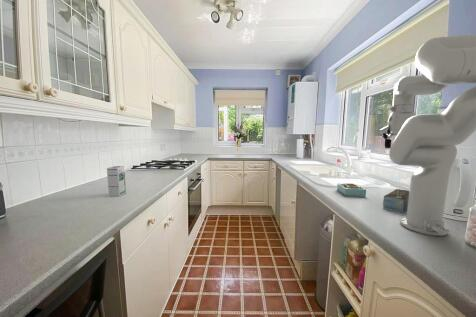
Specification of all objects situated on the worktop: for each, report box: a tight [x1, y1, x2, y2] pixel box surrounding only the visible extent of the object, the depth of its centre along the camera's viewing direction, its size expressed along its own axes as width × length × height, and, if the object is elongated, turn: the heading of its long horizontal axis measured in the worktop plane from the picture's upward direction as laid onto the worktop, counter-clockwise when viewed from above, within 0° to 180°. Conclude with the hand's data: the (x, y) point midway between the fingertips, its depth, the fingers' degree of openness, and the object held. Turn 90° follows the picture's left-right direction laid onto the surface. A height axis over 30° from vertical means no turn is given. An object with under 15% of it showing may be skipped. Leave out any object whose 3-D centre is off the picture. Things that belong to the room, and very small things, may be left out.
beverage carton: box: [382, 188, 409, 213], centre depth 97 cm, size 8×19×7 cm, turn 129°
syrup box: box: [106, 165, 127, 197], centre depth 107 cm, size 6×6×14 cm
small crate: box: [342, 183, 360, 189], centre depth 117 cm, size 7×6×4 cm
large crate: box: [336, 183, 367, 198], centre depth 117 cm, size 12×11×4 cm
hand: (398, 148), depth 95 cm, fingers open, 9 cm apart
